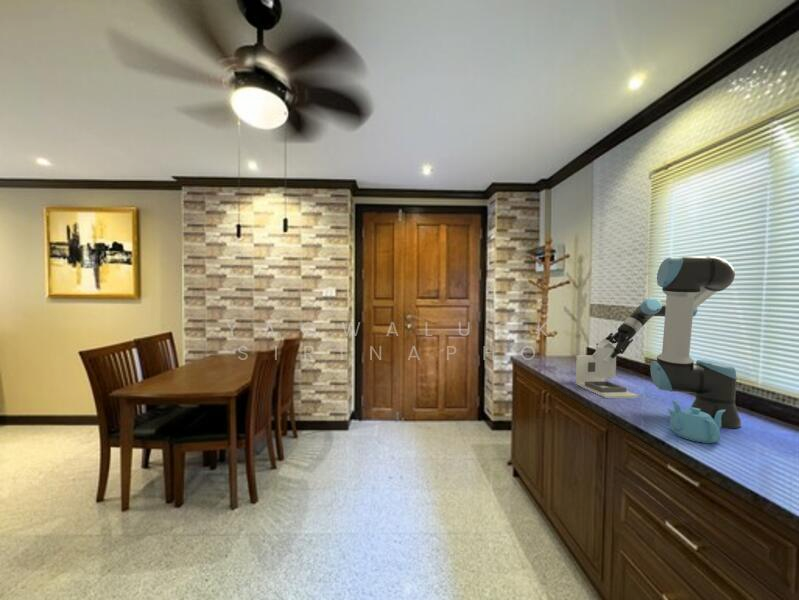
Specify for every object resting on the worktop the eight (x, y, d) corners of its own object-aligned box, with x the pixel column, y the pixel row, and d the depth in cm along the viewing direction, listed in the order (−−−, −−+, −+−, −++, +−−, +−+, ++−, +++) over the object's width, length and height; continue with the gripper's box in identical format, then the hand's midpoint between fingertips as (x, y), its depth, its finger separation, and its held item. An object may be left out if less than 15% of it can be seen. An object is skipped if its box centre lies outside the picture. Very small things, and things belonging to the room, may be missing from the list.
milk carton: (600, 378, 175) (601, 340, 174) (594, 374, 182) (595, 338, 181) (615, 378, 174) (616, 340, 173) (609, 375, 181) (610, 338, 180)
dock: (637, 397, 167) (638, 364, 166) (606, 398, 165) (607, 365, 164) (603, 384, 190) (603, 355, 190) (575, 384, 189) (576, 355, 188)
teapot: (720, 451, 112) (721, 419, 111) (662, 436, 123) (663, 407, 122) (724, 438, 122) (725, 409, 121) (670, 425, 133) (671, 398, 132)
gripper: (651, 336, 168) (619, 369, 167) (618, 330, 189) (590, 360, 188) (641, 325, 167) (609, 358, 166) (609, 321, 189) (581, 350, 187)
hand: (599, 359), depth 177 cm, fingers closed on milk carton, 9 cm apart
